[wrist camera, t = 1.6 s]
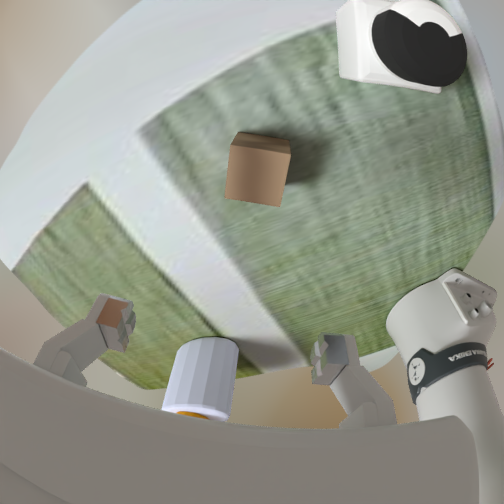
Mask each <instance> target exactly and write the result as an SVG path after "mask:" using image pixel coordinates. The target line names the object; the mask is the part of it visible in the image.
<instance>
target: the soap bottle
mask: <svg viewBox="0 0 504 504" xmlns="http://www.w3.org/2000/svg"><path fill="white" fill-rule="evenodd" d="M238 353H239V348H238V347H237V345H236V343H235V342H233V341H231V340H229V339H225V338H219V337H203V338H199V339H195V340H191V341H189V342H187V343H185V344H183V345H182V346H181V348H180V349H179V350H178V351H177V355H176V358H175V362H174V365H173V369H172V372H171V376H170V379H169V383H168V387H167V390H166V394H165V398H164V402H163V406H162V409H161V410H164V411H168V412H173V413H177V414H182V415H187V416H192V417H197V418H203V419H209V420H215V421H221V422H225V421H227V420H228V418H229V416H230V412H231V405H232V397H233V390H234V383H235V375H236V368H237V361H238Z"/></svg>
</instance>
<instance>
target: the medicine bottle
mask: <svg viewBox="0 0 504 504" xmlns="http://www.w3.org/2000/svg"><path fill="white" fill-rule="evenodd" d="M335 14H336V25H337V39H338V55H339V75H340V77H341V78H343V79H349V80H354V81H359V82H366V83H375V84H383V85H391V86H398V87H404V88H410V89H416V90H421V91H427V92H431V93H436V94H438V93H440V92H441V87H442V86H447V85H450V84H452V83H453V82H455V81H456V80H457V79H458V78H459V77H460V76H461V74H462V73H463V71H464V68H465V65H466V61H467V48H466V43H465V39H464V36H463V34H462V31H461V30H460V28H459V26H458V24H457V23H456V21H455V20H454V19H453V18H452V16H451V15H450V14H449V13H448V12H447V11H445V10H444V9H443V8H442V7H440V6H439V5H437V4H435V3H433V2H431V1H429V0H400V1H397V2H393V1H389V0H348V1H347V2H346V3H345V4H344V5H342V6H341V7H340V8H339V9H338V10H337V11H336V13H335Z"/></svg>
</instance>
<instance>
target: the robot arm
mask: <svg viewBox="0 0 504 504" xmlns="http://www.w3.org/2000/svg"><path fill="white" fill-rule="evenodd" d="M496 298H497V292H496V290H495V289H493V288H492V287H490V286H488V285H486V284H484V283H483V282H481V281H479V280H477V279H475V278H473V277H471V276H470V275H468V274H466V273H464V272H462V271H460V270H458V269H456V268H453V269H451V270H449V271H447V272H446V273H444V274H443V275H442V276H440V277H439V278H438V279H436V280H434V281H431V282H429V283H426V284H424V285H421V286H419V287H417V288H416V289H414V290H412V291H411V292H409V293H408V294H406V295H405V296H404V297H403V298H402V299H401V300H399V301H398V302H397V304H396V305H395V306H394V307H393V308H392V310H391V311H390V313H389V315H388V318H387V321H386V329H387V331H388V333H389V335H390V336H391V338H392V339H393V341H394V343H395V344H396V347H397V350H398V351H399V353H400V355H401V357H402V359H403V362H404V364H405V367H406V369H407V374H408V384H409V388H410V393H411V397H412V400H413V403H414V404H415V405H417V410H418V415H419V421H418V422H411V423H404V424H397V421H396V415H395V409H394V404H393V400H392V399H391V398H390V397H389V395H388V394H387V393H386V392H385V391H384V390H383V388H382V387H381V386H380V385H379V384H378V382H377V381H376V380H375V379H374V378H373V377H372V375H371V374H370V373H369V372H368V371H367V370H366V368H365V367H364V366H360V361H359V356H358V351H357V346H356V341H355V337H354V336H353V335H344V334H335V333H324V332H322V333H320V334H319V336H318V341H317V342H316V343H314V345H313V347H312V350H311V364H312V365H313V366H314V368H313V370H312V372H311V373H312V384H320V385H330V387H331V389H332V391H333V392H334V394H335V395H336V397H337V398H338V400H339V402H340V403H341V405H342V406H343V408H344V410H345V411H346V413H347V414H348V417H347V418H346V419H344V420H343V421H342V422H341V423H340V424H339V429H296V428H278V427H277V428H276V427H263V426H253V425H243V424H235V423H228V422H221V421H215V420H209V419H203V418H197V417H192V416H187V415H182V414H177V413H173V412H168V411H164V410H160V409H155V408H152V407H148V406H144V405H140V404H137V403H133V402H130V401H126V400H123V399H120V398H116V397H114V396H110V395H107V394H104V393H101V392H98V391H96V390H93V389H90V388H87V387H86V385H87V380H86V379H85V377H84V376H83V374H82V373H81V371H83V370H84V369H85V368H86V367H87V366H89V365H90V364H91V363H92V362H93V361H94V360H96V359H97V358H98V357H99V356H101V355H102V354H103V353H104V352H105V351H107V350H108V349H112V350H116V351H120V352H124V353H125V351H126V348H127V346H128V343H129V338H128V336H129V335H130V334H132V333H133V330H134V328H135V323H136V315H135V312H134V311H133V310H132V309H133V307H134V305H133V301H130V300H126V299H122V298H119V297H115V296H111V295H108V294H104V293H101V294H100V295H98V297H97V299H96V301H95V302H94V304H93V306H92V308H91V310H90V311H89V313H88V315H87V317H86V319H85V320H84V319H81V320H80V321H78V322H77V323H75V324H73V325H72V326H70V327H68V328H67V329H65V330H64V331H62V332H60V333H59V334H57V335H55V336H54V337H52V338H51V339H49V340H47V341H46V342H44V344H43V346H42V348H41V350H40V352H39V354H38V356H37V358H36V360H35V362H34V364H31V363H29V362H27V361H25V360H23V359H21V358H20V357H18V356H16V355H14V354H12V353H10V352H8V351H7V350H5V349H3V348H1V347H0V504H504V416H503V414H502V412H501V409H500V407H499V404H498V401H497V398H496V395H495V392H494V390H493V387H492V384H491V381H490V378H489V376H488V373H487V370H488V369H489V368H490V367H491V366H492V365H493V364H494V363H492V364H491V365H490V366H489V367H488V365H489V364H490V362H491V361H492V358H491V359H490V360H489V361H488V362H487V353H486V346H487V344H488V342H489V340H490V338H491V336H492V334H493V332H494V330H495V327H496V318H495V315H494V313H493V311H492V307H493V305H494V303H495V301H496Z"/></svg>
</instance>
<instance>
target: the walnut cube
mask: <svg viewBox="0 0 504 504" xmlns="http://www.w3.org/2000/svg"><path fill="white" fill-rule="evenodd" d="M290 157H291V151H290V144H289V140H285V139H279V138H274V137H268V136H262V135H255V134H249V133H241V132H238V133H237V135H236V136H235V138H234V140H233V142H232V143H231V145H230V153H229V162H228V171H227V180H226V189H225V198H227V199H234V200H240V201H246V202H253V203H259V204H265V205H271V206H276V207H280V205H281V200H282V195H283V191H284V186H285V181H286V177H287V172H288V167H289V162H290Z"/></svg>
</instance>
